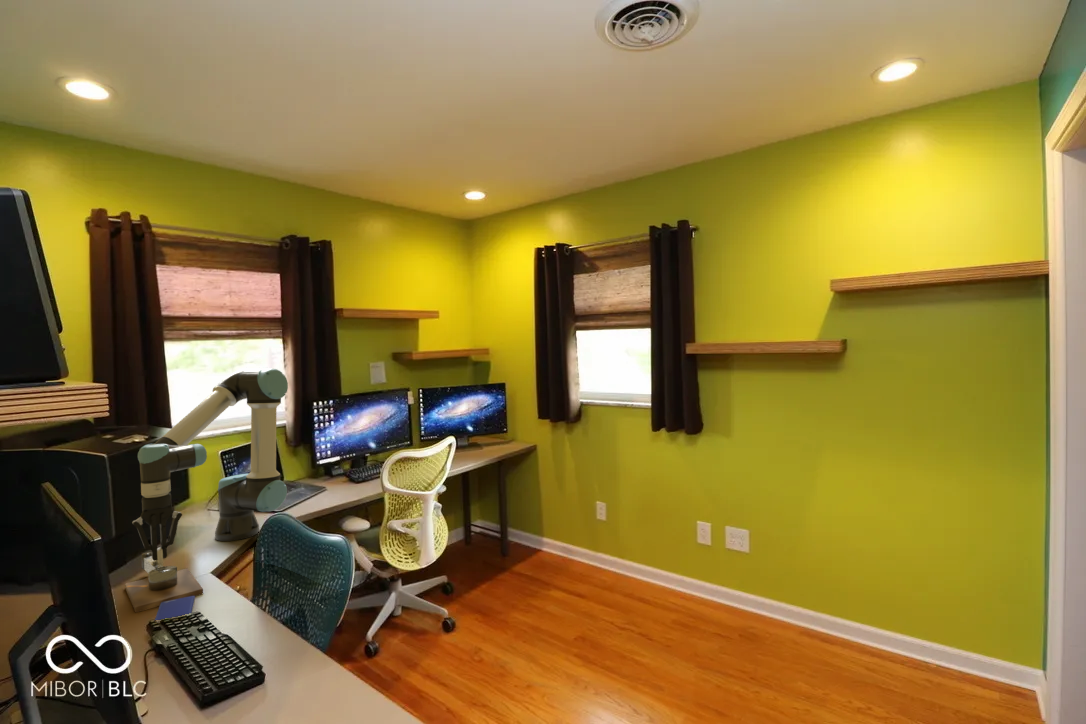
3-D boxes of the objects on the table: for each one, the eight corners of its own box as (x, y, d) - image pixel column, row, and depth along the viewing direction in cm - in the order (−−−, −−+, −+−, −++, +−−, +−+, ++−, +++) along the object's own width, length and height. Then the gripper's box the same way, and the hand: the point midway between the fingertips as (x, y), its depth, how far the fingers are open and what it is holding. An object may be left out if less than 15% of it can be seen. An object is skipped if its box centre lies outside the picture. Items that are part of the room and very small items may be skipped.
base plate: (187, 572, 176) (187, 567, 176) (203, 593, 160) (203, 588, 160) (125, 588, 165) (124, 583, 165) (135, 612, 149) (135, 606, 149)
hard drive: (160, 602, 153) (153, 620, 142) (195, 595, 157) (191, 613, 146) (160, 607, 153) (154, 626, 142) (195, 600, 157) (191, 618, 146)
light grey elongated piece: (180, 584, 163) (179, 566, 163) (152, 592, 157) (151, 574, 157) (159, 565, 178) (158, 549, 178) (132, 572, 173) (132, 555, 173)
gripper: (132, 501, 163) (136, 579, 164) (183, 492, 172) (186, 566, 173) (129, 496, 169) (132, 572, 169) (178, 488, 177) (181, 560, 178)
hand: (160, 569), depth 171 cm, fingers closed
